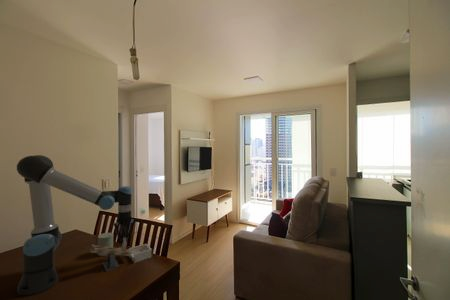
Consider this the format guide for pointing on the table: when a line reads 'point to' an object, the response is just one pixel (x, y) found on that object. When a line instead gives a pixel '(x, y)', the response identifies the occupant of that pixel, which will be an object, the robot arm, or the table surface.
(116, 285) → the table surface
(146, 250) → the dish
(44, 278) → the robot arm
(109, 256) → the fulcrum
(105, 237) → the can
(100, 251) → the lever
